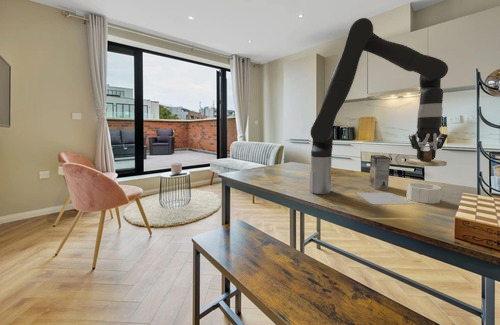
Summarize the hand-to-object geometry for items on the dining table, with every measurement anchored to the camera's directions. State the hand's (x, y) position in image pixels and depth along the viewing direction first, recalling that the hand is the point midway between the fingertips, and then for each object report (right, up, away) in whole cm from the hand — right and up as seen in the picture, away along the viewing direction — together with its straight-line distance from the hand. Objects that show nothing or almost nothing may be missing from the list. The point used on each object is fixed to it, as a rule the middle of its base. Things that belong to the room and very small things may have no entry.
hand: (425, 159), depth 93 cm
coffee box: (-7, -14, +23) cm, 28 cm away
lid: (0, -2, 0) cm, 2 cm away
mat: (-14, -17, +5) cm, 23 cm away
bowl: (0, -17, +2) cm, 17 cm away
